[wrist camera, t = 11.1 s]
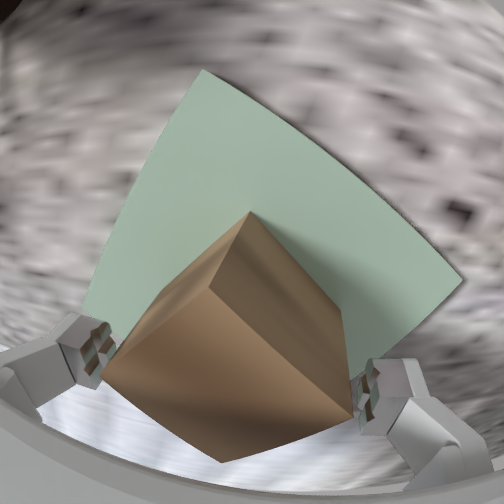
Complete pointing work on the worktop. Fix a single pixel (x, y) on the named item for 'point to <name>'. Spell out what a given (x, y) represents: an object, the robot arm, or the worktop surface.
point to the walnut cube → (238, 351)
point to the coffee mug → (7, 8)
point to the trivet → (266, 222)
